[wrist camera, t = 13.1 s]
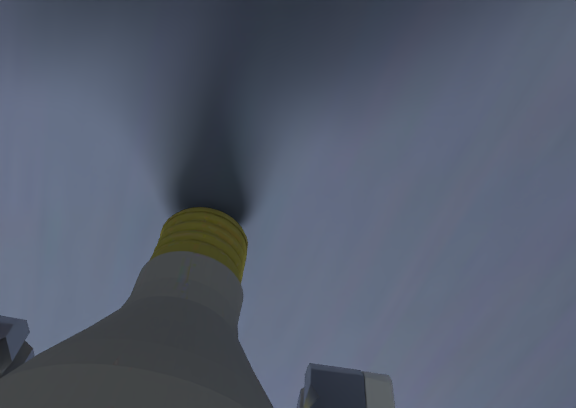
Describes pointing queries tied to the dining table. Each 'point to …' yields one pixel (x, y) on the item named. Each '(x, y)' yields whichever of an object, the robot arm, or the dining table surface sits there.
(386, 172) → the dining table surface
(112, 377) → the light bulb
